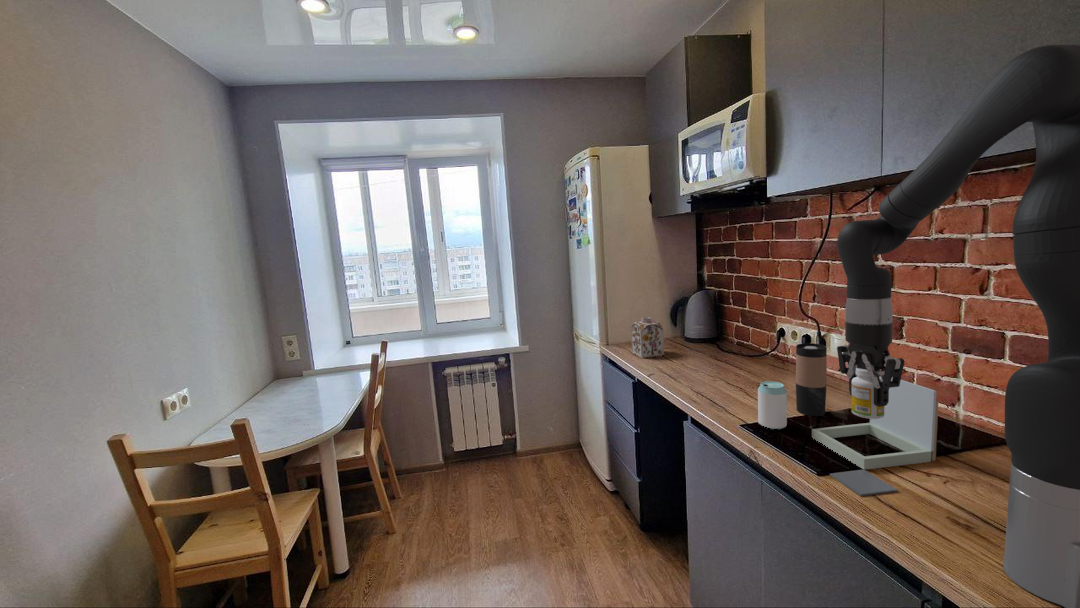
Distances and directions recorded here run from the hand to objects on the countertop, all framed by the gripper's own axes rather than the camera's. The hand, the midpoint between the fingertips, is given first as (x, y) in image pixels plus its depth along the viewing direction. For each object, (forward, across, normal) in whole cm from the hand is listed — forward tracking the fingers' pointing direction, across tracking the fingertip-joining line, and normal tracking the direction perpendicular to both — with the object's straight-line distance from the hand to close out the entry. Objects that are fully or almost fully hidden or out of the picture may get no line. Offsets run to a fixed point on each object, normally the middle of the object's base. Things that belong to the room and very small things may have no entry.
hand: (867, 400), depth 87 cm
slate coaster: (+18, 0, +1) cm, 18 cm away
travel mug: (+17, +36, -14) cm, 43 cm away
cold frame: (+18, +13, -11) cm, 24 cm away
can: (+18, +30, +2) cm, 35 cm away
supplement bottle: (+3, 0, 0) cm, 3 cm away
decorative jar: (+16, +116, +9) cm, 117 cm away
